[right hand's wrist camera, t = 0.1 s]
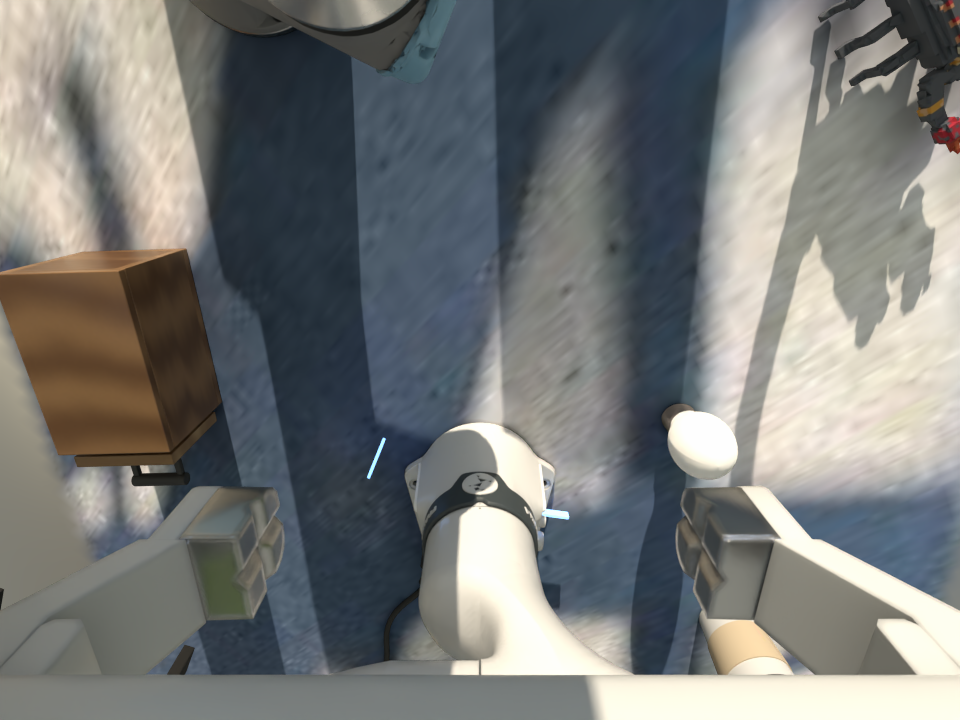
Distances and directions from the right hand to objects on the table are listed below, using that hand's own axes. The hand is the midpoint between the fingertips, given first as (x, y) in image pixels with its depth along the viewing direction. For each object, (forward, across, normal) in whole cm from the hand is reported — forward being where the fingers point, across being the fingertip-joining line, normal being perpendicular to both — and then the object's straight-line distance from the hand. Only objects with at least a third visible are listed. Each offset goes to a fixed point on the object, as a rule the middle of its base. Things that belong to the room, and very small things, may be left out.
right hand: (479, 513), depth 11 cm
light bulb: (+48, +24, -23) cm, 58 cm away
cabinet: (+48, -37, -12) cm, 62 cm away
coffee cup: (+48, +35, -55) cm, 81 cm away
